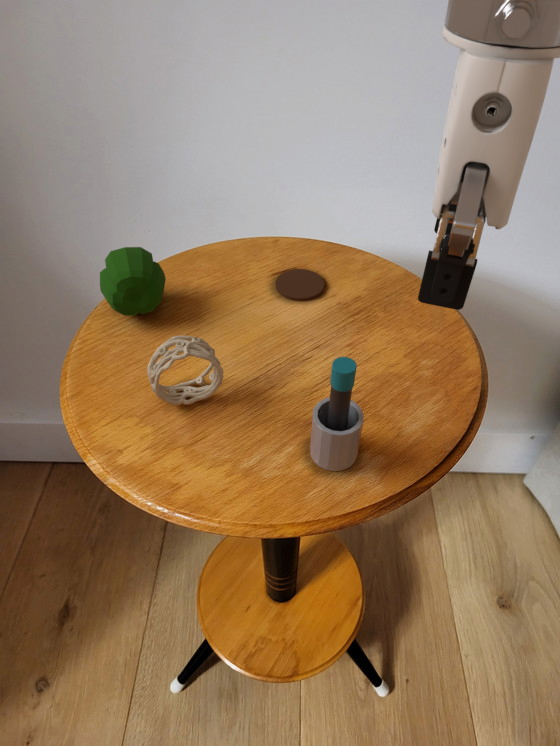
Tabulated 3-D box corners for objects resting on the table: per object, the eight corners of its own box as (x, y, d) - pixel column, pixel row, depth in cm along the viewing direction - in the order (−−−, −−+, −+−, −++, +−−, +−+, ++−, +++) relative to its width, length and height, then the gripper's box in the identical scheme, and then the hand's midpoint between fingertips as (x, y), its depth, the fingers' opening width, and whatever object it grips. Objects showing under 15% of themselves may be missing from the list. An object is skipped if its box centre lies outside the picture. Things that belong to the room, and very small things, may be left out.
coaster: (325, 273, 83) (325, 270, 83) (322, 302, 78) (323, 299, 78) (278, 270, 84) (278, 267, 83) (272, 298, 79) (272, 296, 78)
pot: (357, 435, 62) (363, 398, 57) (356, 473, 58) (363, 437, 54) (311, 431, 62) (314, 394, 58) (308, 469, 58) (311, 432, 54)
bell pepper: (179, 280, 71) (169, 249, 79) (115, 258, 67) (111, 227, 75) (155, 334, 74) (148, 299, 82) (92, 316, 70) (91, 281, 78)
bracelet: (150, 394, 66) (139, 343, 60) (216, 376, 68) (211, 325, 62) (159, 418, 63) (148, 367, 57) (226, 399, 65) (222, 348, 60)
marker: (344, 441, 60) (356, 357, 52) (344, 458, 59) (356, 374, 50) (324, 439, 60) (332, 355, 52) (322, 456, 59) (331, 372, 50)
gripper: (598, 65, 25) (490, 349, 37) (578, -15, 37) (501, 220, 49) (428, 47, 27) (378, 325, 39) (461, -25, 38) (414, 206, 50)
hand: (446, 266), depth 44 cm, fingers open, 9 cm apart
